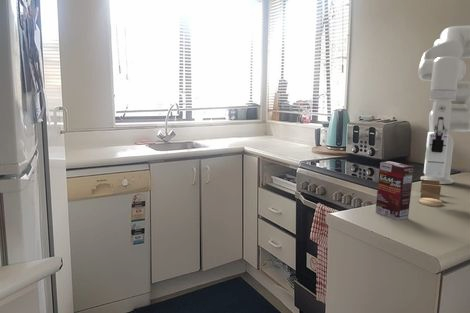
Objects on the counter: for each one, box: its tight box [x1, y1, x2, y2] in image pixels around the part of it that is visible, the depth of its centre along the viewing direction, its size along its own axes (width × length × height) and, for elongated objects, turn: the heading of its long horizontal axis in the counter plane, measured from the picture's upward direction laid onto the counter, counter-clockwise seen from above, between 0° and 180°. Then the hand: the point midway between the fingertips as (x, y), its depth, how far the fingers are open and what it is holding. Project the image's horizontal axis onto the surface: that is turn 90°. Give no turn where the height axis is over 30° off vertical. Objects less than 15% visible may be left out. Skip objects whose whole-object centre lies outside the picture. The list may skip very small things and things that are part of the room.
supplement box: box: [375, 160, 415, 221], centre depth 116 cm, size 9×5×16 cm, turn 29°
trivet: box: [418, 197, 443, 207], centre depth 132 cm, size 7×7×1 cm
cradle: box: [420, 179, 442, 200], centre depth 142 cm, size 10×6×5 cm, turn 155°
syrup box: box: [423, 131, 448, 178], centre depth 129 cm, size 6×6×14 cm
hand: (436, 150), depth 129 cm, fingers closed on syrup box, 6 cm apart
